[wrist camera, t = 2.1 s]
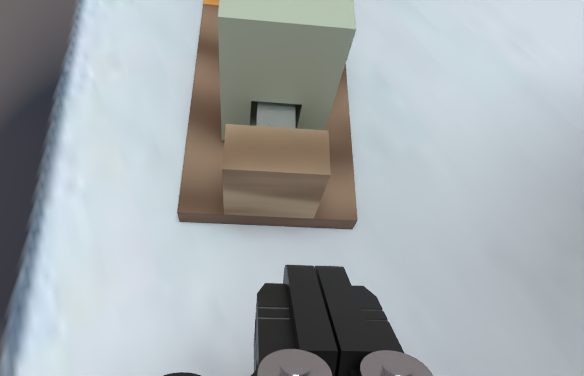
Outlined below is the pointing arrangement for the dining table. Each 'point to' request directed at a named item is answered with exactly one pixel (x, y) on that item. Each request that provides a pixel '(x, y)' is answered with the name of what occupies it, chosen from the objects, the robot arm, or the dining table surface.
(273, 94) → the upright sage green block
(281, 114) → the grey long bar
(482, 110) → the dining table surface
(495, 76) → the dining table surface
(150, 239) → the dining table surface
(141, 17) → the dining table surface
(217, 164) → the wooden slider rail stand
